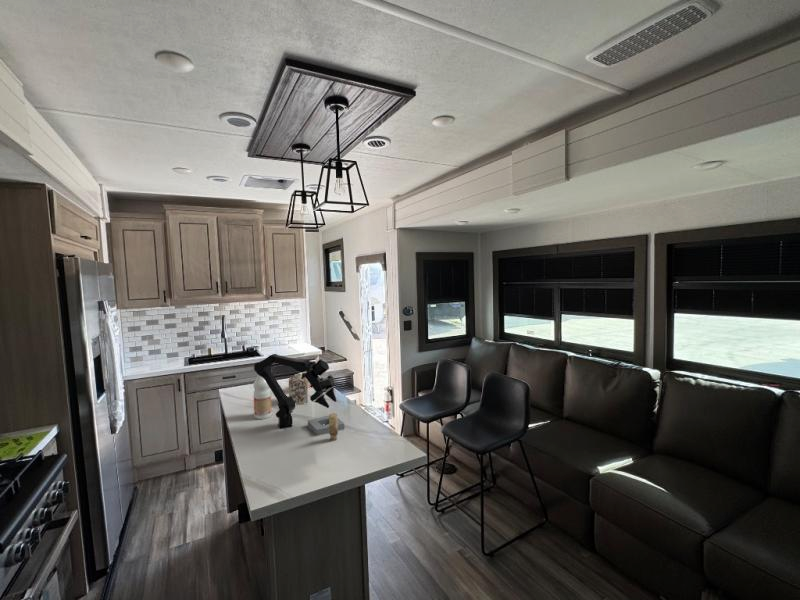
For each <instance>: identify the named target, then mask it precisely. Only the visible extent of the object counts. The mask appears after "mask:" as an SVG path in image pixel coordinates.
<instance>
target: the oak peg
mask: <svg viewBox="0 0 800 600" xmlns="http://www.w3.org/2000/svg"><path fill="white" fill-rule="evenodd" d="M328 416H329V433H328V435H329V436H330V437H329V438H330V441H331V440H332V441H331V442H333V441H334V442H335V441H337V440H338V434H339V430H338V428H337V418H338V413H334V412H333V413H329V414H328Z"/></svg>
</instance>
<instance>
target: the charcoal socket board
mask: <svg viewBox="0 0 800 600" xmlns="http://www.w3.org/2000/svg"><path fill="white" fill-rule="evenodd" d="M323 424H326V425H323ZM307 426H308V428H309V427H310V428H311V429H312V430H313V431H312V430H311V429H310V428H309V429H310V430H311V431H312V432H313V433H314V434H315V436H317V435H318V436H321V434H322V435H326V434H329V415H326V416H321V417H317V418H312V419H308V420H307ZM337 428H338V431H341V430H342V431H343V430H344V429H345V423H344V422H343V421H342V420H341V419H340V418H338V417H337ZM325 433H326V434H325Z"/></svg>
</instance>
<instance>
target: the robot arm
mask: <svg viewBox="0 0 800 600" xmlns="http://www.w3.org/2000/svg"><path fill="white" fill-rule="evenodd" d="M273 364H277V365H281V366H286V367H289V368H292V369H293V370H294V371H297V372H298V373H300V372H306V373H302V378H301V379H303V378H305V377H306V379H307V380H308V382H309V383H310V384H311V386H310V387H311V388H313V390H314V391H315V392H314V393H313V394H311V395H310V397H309V400H310V401H311V402H312V403H317V404H319V405H321V406H322V407H325V408H327V409H329V408H330V405H329V403H328V402H327V400H326V398H325V396H327V397H328V398H329V399H331V400H332V401H333V402H337V397H336V395H335V391H334V390H335V385H336V384H335V377H334V376H333V375H332V374H330V375H328V376H327V377H326V378H325V379H324V378H323V377H320V376H322V375H323V374H325V373H326V372H327V371H328V370H329V369H330V366H329V364H328V363H327V362H326V361H324V360H323V359H322V358H321V359H318V360H317V361H316V362H312V361H310V360H309V359H307V358H298V359H295V358H292V357H288V356H284V355H280V354H277V353H273V354H270V355H268V356H267V357H266V358H264V359H263V360H260V361H258V362H255V364H254V366H253V370H254V372H255V373H256V375H257V374H258V375H259V376H261V377H263V378H264V379H265V381H266V383H267V384H268V386H269V387H270V391H271V393H272V394H273V396H274V397H275V399H276V400H277V407H278V411H277V412H276V413H275V416H276V418H278V424H277V426H278V428H279V429H280V430H283V429H287V428H291V427H293V426H294V425H293V423H294V422H293V416H292V413H293V412H294V410H295V409H296V406H297V405H295V403H294V402H295V401H294V400H293V398H292V396H290V397H289V395H287V394H286V393H285V392H284V390H283V388H282V387H281V385H280V384H279V382H278V381H277V379H276V377H275V376H274V374H273V368H272V365H273ZM311 388H310V389H311Z"/></svg>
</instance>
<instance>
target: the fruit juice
mask: <svg viewBox="0 0 800 600" xmlns="http://www.w3.org/2000/svg"><path fill="white" fill-rule="evenodd" d="M253 389H254V390H253V391H254V392H253V412H254V414H253V415H254V418H255V419H256V418H257V419H256V420H265V419H264V418H266V419H268V417H269V418H270V417H271V416H272V415H273V414H272V391H271V389H270V387H269V386H268V384H267V383H266V381H265V379H264V378H263V377H261V376H259V375H258V374H257V373H256V378H255V380H254V382H253Z"/></svg>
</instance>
